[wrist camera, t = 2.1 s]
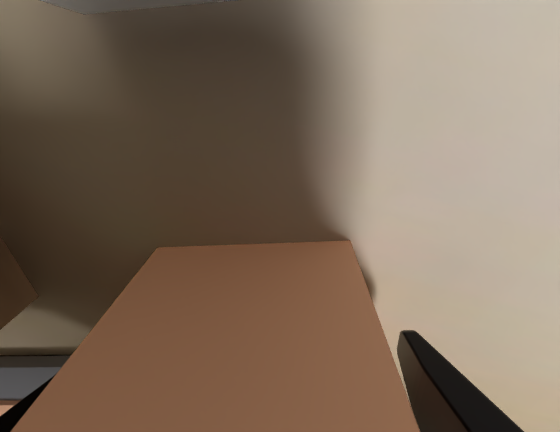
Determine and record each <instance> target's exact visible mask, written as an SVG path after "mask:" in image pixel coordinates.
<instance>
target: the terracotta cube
mask: <svg viewBox="0 0 560 432" xmlns="http://www.w3.org/2000/svg"><path fill="white" fill-rule="evenodd" d="M11 432H420V431H419V428H418V425H417V422H416V420H415V417H414V414H413V411H412V409H411V406H410V403H409V400H408V398H407V395H406V392H405V389H404V387H403V384H402V381H401V378H400V376H399V373H398V370H397V368H396V365H395V362H394V359H393V357H392V354H391V351H390V348H389V346H388V343H387V340H386V337H385V335H384V332H383V329H382V326H381V324H380V321H379V318H378V315H377V313H376V310H375V307H374V304H373V302H372V299H371V296H370V294H369V291H368V288H367V285H366V283H365V280H364V277H363V274H362V272H361V269H360V266H359V263H358V261H357V258H356V255H355V252H354V250H353V247H352V244H351V241H350V240H347V241H320V242H292V243H265V244H237V245H210V246H182V247H157V248H156V250H155V251H154V252H153V253H152V255H151V256H150V257H149V258H148V260H147V261H146V262H145V264H144V265H143V266H142V267H141V269H140V270H139V271H138V272H137V274H136V275H135V276H134V277H133V279H132V280H131V281H130V282H129V284H128V285H127V286H126V287H125V289H124V290H123V291H122V292H121V294H120V295H119V296H118V297H117V299H116V300H115V301H114V302H113V304H112V305H111V306H110V307H109V309H108V310H107V311H106V312H105V314H104V315H103V316H102V317H101V319H100V320H99V321H98V322H97V324H96V325H95V326H94V327H93V329H92V330H91V331H90V332H89V334H88V335H87V336H86V338H85V339H84V340H83V341H82V343H81V344H80V345H79V346H78V348H77V349H76V350H75V351H74V353H73V354H72V355H71V356H70V358H69V359H68V360H67V361H66V363H65V364H64V365H63V366H62V368H61V369H60V370H59V371H58V373H57V374H56V375H55V376H54V378H53V379H52V380H51V381H50V383H49V384H48V385H47V386H46V388H45V389H44V390H43V391H42V393H41V394H40V395H39V396H38V398H37V399H36V400H35V401H34V403H33V404H32V405H31V407H30V408H29V409H28V410H27V412H26V413H25V414H24V415H23V417H22V418H21V419H20V420H19V422H18V423H17V424H16V425H15V427H14V428H13V429H12V430H11Z"/></svg>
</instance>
